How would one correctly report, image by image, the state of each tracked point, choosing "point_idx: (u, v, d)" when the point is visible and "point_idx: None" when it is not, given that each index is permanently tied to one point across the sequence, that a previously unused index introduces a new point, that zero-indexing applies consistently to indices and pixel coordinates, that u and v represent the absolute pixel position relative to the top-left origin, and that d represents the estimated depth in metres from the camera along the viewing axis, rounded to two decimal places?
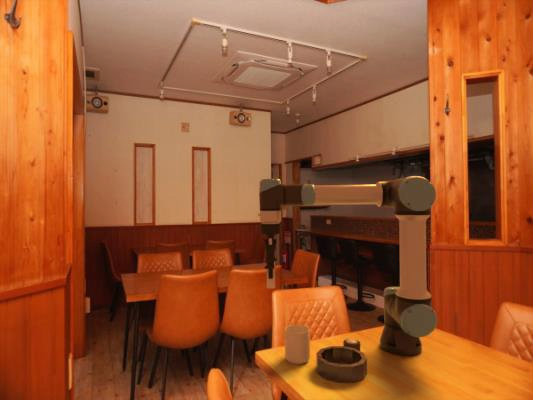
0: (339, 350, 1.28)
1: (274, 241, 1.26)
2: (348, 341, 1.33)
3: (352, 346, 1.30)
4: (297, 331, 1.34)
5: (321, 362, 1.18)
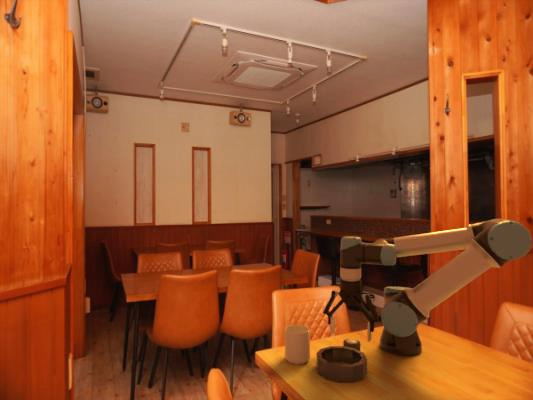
0: (339, 350, 1.28)
1: (344, 296, 1.33)
2: (348, 341, 1.33)
3: (352, 346, 1.30)
4: (297, 331, 1.34)
5: (321, 362, 1.18)
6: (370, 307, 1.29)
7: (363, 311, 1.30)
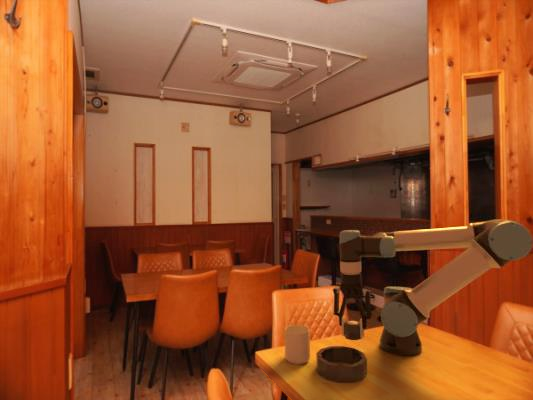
0: (339, 350, 1.28)
1: (345, 291, 1.33)
2: (349, 322, 1.33)
3: (353, 327, 1.30)
4: (297, 331, 1.34)
5: (321, 362, 1.18)
6: (367, 303, 1.29)
7: (359, 307, 1.31)
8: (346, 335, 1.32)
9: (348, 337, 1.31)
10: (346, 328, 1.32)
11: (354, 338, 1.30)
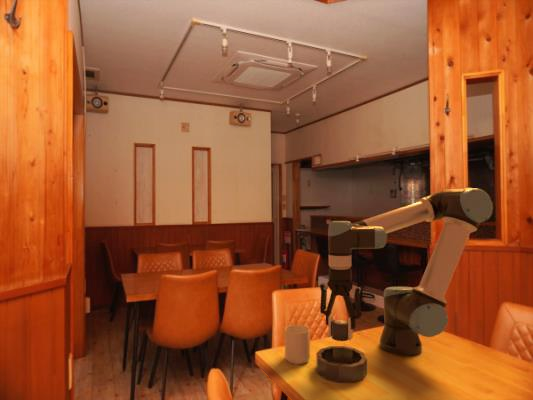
0: (339, 350, 1.28)
1: (333, 287, 1.21)
2: (336, 322, 1.21)
3: (340, 327, 1.18)
4: (297, 331, 1.34)
5: (321, 362, 1.18)
6: (356, 301, 1.18)
7: (348, 305, 1.19)
8: (332, 335, 1.20)
9: (335, 337, 1.19)
10: (333, 328, 1.20)
11: (341, 339, 1.18)
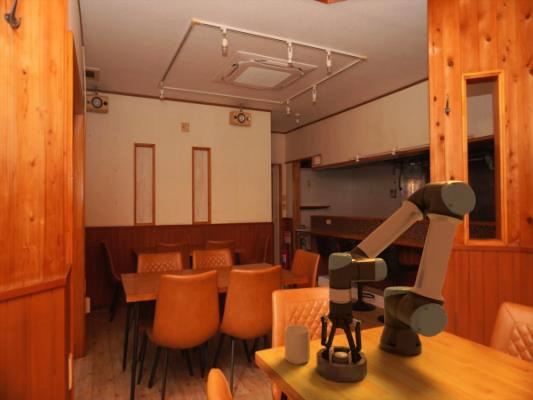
0: (339, 350, 1.28)
1: (333, 320, 1.21)
2: (337, 354, 1.21)
3: (341, 360, 1.18)
4: (297, 331, 1.34)
5: (321, 362, 1.18)
6: (357, 335, 1.18)
7: (348, 338, 1.19)
8: None
9: None
10: (334, 361, 1.20)
11: None
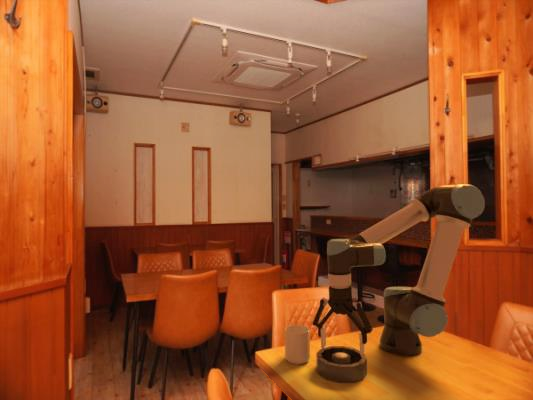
0: (339, 350, 1.28)
1: (333, 305, 1.21)
2: (337, 355, 1.21)
3: (341, 361, 1.18)
4: (297, 331, 1.34)
5: (321, 362, 1.18)
6: (362, 317, 1.17)
7: (354, 321, 1.18)
8: None
9: None
10: (334, 361, 1.20)
11: None
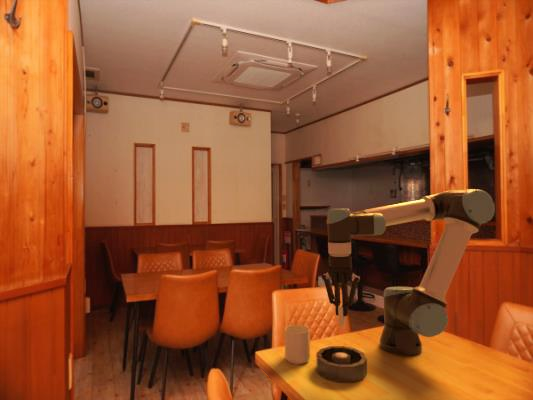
0: (339, 350, 1.28)
1: None
2: (337, 355, 1.21)
3: (341, 361, 1.18)
4: (297, 331, 1.34)
5: (321, 362, 1.18)
6: (352, 290, 1.18)
7: (343, 292, 1.20)
8: None
9: None
10: (334, 361, 1.20)
11: None
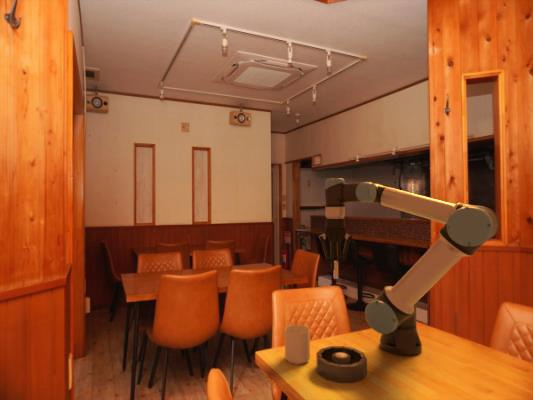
0: (339, 350, 1.28)
1: (331, 235, 1.41)
2: (337, 355, 1.21)
3: (341, 361, 1.18)
4: (297, 331, 1.34)
5: (321, 362, 1.18)
6: (347, 246, 1.41)
7: (339, 249, 1.41)
8: None
9: None
10: (334, 361, 1.20)
11: None
